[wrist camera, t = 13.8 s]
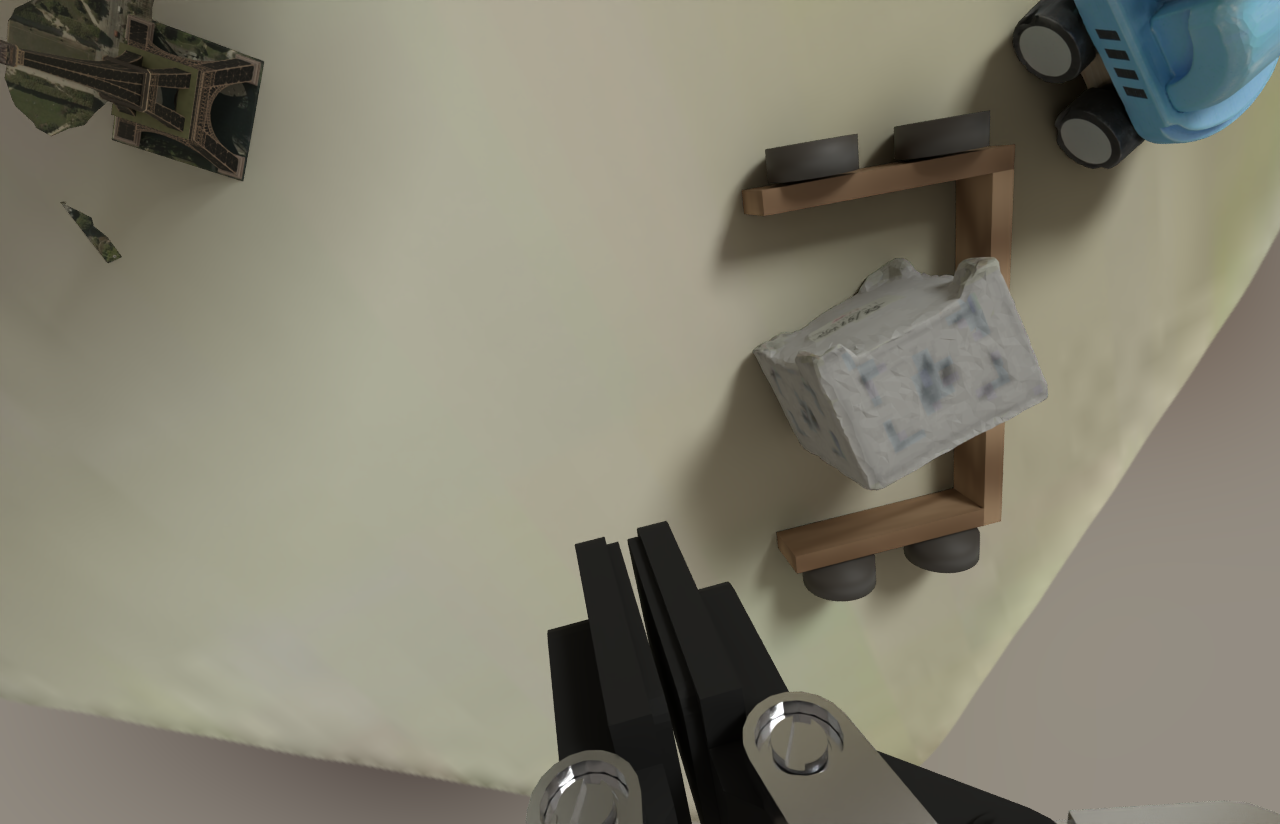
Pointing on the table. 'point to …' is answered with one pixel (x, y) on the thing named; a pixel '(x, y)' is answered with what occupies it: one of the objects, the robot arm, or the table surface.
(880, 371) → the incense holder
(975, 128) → the chassis bay
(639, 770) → the robot arm
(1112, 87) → the toy excavator
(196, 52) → the eiffel tower figurine
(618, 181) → the table surface
